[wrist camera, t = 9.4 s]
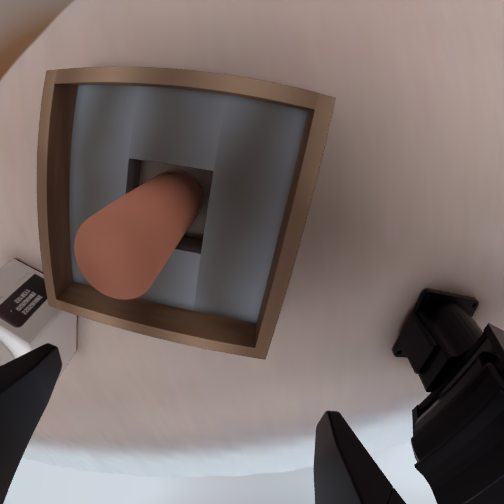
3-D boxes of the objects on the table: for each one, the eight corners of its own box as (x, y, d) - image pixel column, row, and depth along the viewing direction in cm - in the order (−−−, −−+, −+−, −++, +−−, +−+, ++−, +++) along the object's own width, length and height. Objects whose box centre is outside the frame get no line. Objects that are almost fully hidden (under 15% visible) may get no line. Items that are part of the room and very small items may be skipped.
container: (13, 256, 22) (-83, 339, 10) (79, 289, 22) (-12, 403, 11) (18, 319, 25) (-51, 402, 13) (77, 351, 25) (16, 454, 14)
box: (319, 102, 16) (335, 97, 12) (265, 317, 22) (265, 359, 18) (86, 75, 16) (46, 70, 12) (78, 275, 22) (48, 305, 18)
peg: (206, 174, 18) (160, 222, 10) (198, 229, 20) (155, 308, 12) (151, 165, 18) (73, 206, 10) (146, 219, 20) (77, 288, 12)
